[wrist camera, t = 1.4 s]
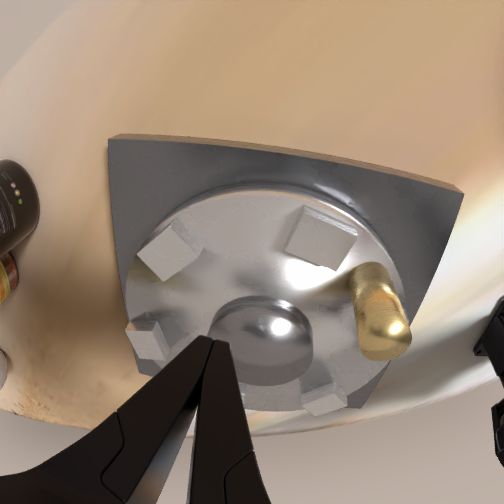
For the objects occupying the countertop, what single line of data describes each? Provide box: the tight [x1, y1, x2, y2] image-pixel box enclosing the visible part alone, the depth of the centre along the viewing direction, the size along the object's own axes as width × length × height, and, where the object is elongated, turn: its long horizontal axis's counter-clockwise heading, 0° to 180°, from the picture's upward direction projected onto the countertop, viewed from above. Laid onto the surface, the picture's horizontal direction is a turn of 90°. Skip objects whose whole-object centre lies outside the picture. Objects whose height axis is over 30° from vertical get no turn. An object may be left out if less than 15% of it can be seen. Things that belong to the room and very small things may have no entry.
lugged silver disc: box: [125, 182, 412, 417], centre depth 17 cm, size 17×17×6 cm
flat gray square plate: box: [108, 134, 464, 408], centre depth 21 cm, size 20×20×2 cm
